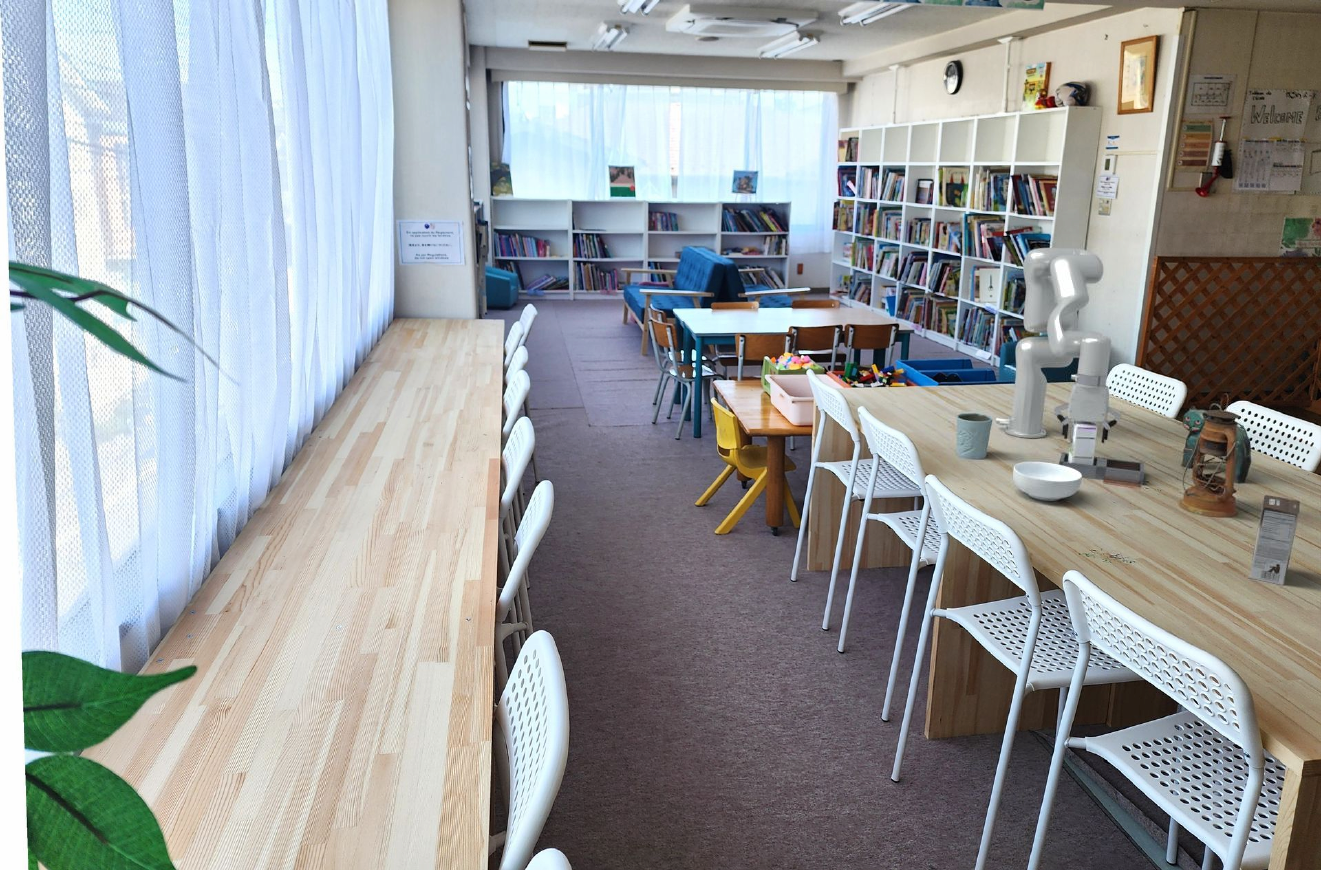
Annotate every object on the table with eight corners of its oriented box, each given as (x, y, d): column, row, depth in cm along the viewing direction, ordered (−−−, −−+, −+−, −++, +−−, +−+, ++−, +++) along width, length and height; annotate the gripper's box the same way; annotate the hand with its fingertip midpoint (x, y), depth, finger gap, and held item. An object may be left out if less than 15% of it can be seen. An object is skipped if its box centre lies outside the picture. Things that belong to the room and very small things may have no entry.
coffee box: (1251, 564, 203) (1264, 494, 199) (1286, 571, 200) (1300, 500, 195) (1248, 578, 196) (1262, 505, 192) (1284, 585, 193) (1299, 512, 188)
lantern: (1253, 520, 229) (1275, 401, 221) (1199, 519, 229) (1220, 401, 221) (1214, 497, 245) (1234, 386, 237) (1165, 496, 246) (1183, 385, 237)
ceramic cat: (1173, 464, 273) (1184, 398, 268) (1189, 462, 275) (1200, 396, 270) (1236, 485, 255) (1249, 414, 250) (1252, 482, 258) (1266, 412, 252)
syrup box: (1092, 475, 263) (1099, 425, 259) (1070, 473, 264) (1076, 424, 260) (1087, 469, 268) (1094, 420, 264) (1065, 467, 269) (1072, 419, 265)
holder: (1056, 477, 261) (1058, 465, 260) (1060, 464, 273) (1061, 452, 272) (1142, 488, 252) (1144, 476, 251) (1142, 474, 264) (1144, 462, 263)
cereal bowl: (1072, 511, 234) (1076, 484, 233) (1004, 499, 243) (1007, 473, 241) (1083, 492, 248) (1087, 467, 246) (1018, 481, 257) (1021, 457, 255)
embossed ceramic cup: (990, 453, 283) (994, 415, 280) (986, 462, 274) (990, 422, 271) (955, 449, 287) (959, 411, 284) (950, 457, 278) (954, 418, 275)
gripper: (1056, 379, 259) (1049, 439, 263) (1126, 385, 252) (1117, 446, 256) (1058, 375, 266) (1052, 433, 270) (1126, 380, 258) (1118, 440, 263)
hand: (1084, 440), depth 263 cm, fingers open, 9 cm apart
